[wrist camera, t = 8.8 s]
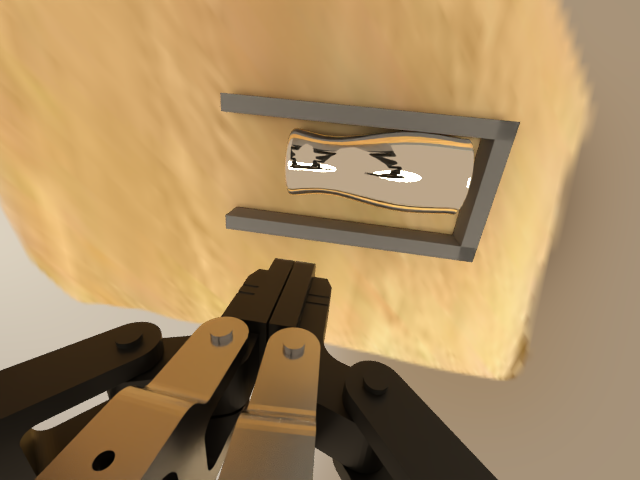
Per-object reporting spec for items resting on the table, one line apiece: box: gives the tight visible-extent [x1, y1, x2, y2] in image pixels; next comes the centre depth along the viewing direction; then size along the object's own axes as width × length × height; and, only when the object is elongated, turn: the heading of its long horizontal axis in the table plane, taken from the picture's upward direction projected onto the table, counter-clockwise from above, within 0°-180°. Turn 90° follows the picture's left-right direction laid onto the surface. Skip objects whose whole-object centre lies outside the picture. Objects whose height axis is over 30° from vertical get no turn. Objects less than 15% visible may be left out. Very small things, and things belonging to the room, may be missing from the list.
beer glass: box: [285, 128, 474, 215], centre depth 27 cm, size 7×7×15 cm
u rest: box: [220, 93, 520, 262], centre depth 29 cm, size 13×26×3 cm, turn 85°
